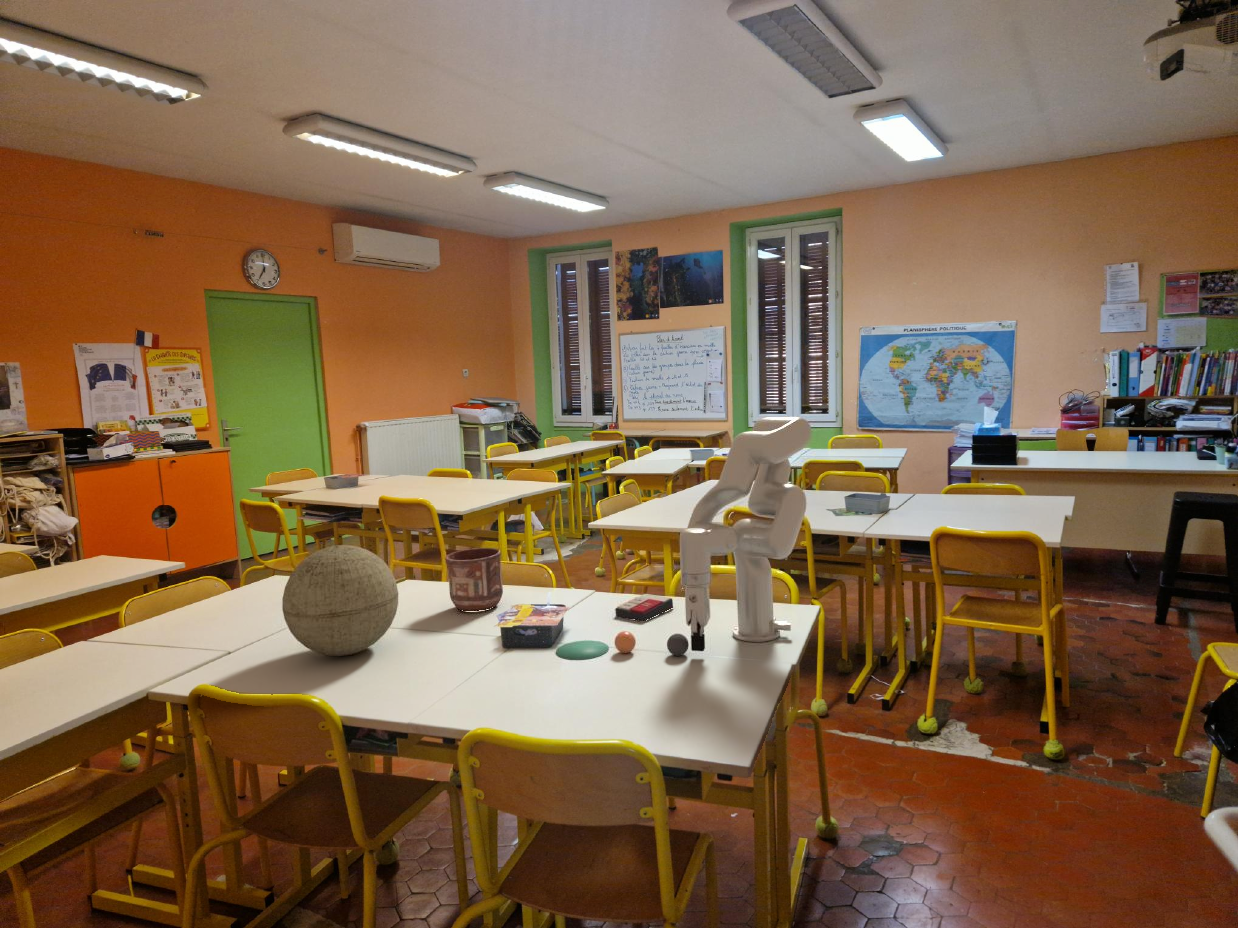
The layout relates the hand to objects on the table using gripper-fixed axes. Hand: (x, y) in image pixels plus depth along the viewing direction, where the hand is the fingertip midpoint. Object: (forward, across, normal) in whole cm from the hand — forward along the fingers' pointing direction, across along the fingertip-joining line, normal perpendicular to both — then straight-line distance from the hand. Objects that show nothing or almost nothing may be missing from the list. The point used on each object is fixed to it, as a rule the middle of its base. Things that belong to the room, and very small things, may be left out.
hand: (698, 649), depth 189 cm
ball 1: (-1, +2, +19) cm, 19 cm away
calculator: (+2, +36, +22) cm, 42 cm away
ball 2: (-1, +1, +5) cm, 5 cm away
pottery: (+3, +37, +78) cm, 87 cm away
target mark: (+2, +2, +31) cm, 31 cm away
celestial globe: (+4, -6, +97) cm, 97 cm away
